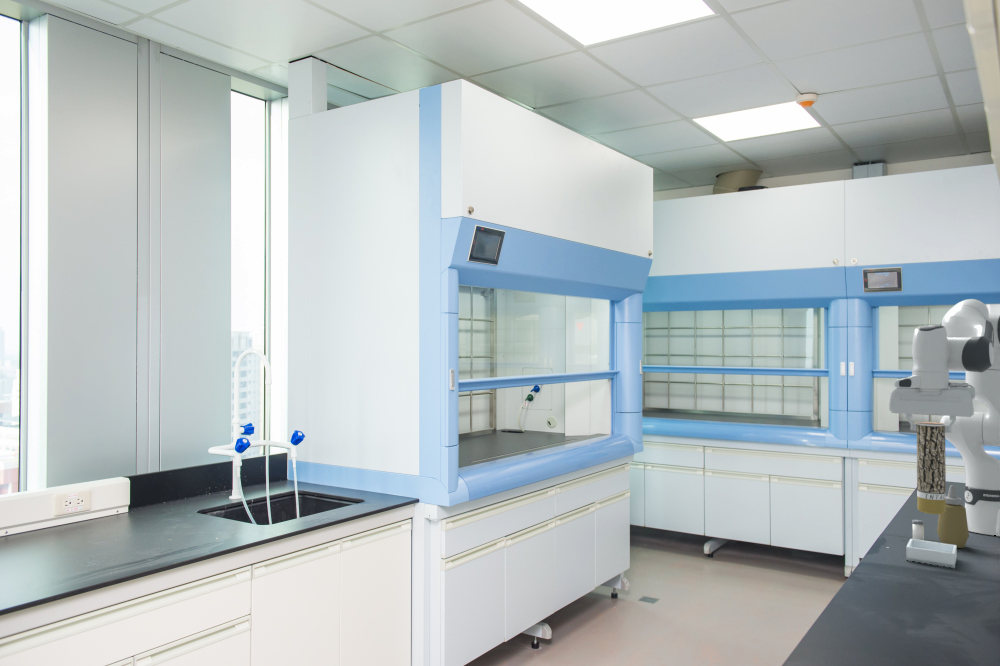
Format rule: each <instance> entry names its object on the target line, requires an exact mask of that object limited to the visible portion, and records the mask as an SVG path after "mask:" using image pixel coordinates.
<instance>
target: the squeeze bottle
mask: <svg viewBox="0 0 1000 666" xmlns="http://www.w3.org/2000/svg"><path fill="white" fill-rule="evenodd" d="M956 490H957V489H956V486H955V485H950V486H949V488H948V493H947V495H946V512H945V513H944V514H938V519H937V527H936V533H937V536H938V539H939V542H940V543H944V544H951V545H957V549H963V548H965V547H966V545H967V542H968V539H969V538H970V534H969V532H970V531H968V524H967V516H966V508H965V506H964V505H963V503H962V502H963V499H962V498H960V497H958V494H957V491H956Z"/></svg>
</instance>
